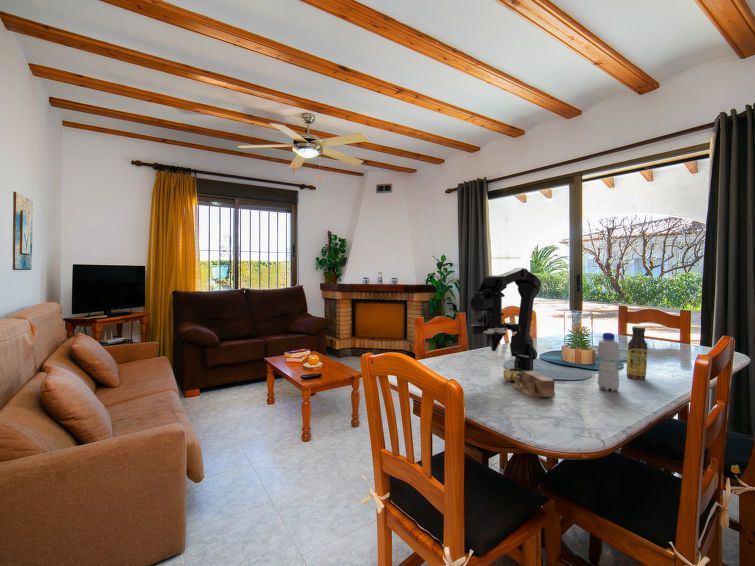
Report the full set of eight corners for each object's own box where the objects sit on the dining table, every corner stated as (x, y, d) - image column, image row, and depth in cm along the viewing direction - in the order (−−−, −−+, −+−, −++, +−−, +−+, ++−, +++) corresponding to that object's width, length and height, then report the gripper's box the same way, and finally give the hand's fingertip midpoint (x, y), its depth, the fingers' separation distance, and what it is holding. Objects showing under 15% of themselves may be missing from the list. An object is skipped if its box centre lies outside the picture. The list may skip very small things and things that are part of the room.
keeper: (518, 377, 144) (518, 367, 144) (530, 383, 137) (530, 373, 137) (507, 378, 143) (507, 368, 143) (518, 384, 136) (518, 374, 136)
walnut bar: (554, 395, 120) (554, 380, 120) (543, 396, 119) (543, 381, 119) (532, 384, 132) (532, 370, 132) (522, 385, 131) (522, 371, 131)
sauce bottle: (628, 379, 140) (629, 327, 139) (624, 375, 146) (625, 325, 145) (649, 381, 138) (650, 328, 137) (644, 376, 143) (645, 326, 143)
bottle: (595, 389, 129) (595, 333, 128) (599, 385, 134) (600, 330, 133) (617, 393, 124) (618, 335, 124) (621, 389, 129) (622, 332, 128)
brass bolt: (517, 378, 143) (517, 366, 142) (524, 382, 138) (524, 369, 138) (503, 379, 141) (503, 367, 141) (509, 383, 137) (509, 371, 137)
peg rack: (513, 386, 133) (513, 375, 133) (533, 385, 135) (533, 373, 134) (533, 397, 121) (533, 385, 121) (554, 396, 123) (555, 383, 123)
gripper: (505, 306, 147) (505, 345, 147) (461, 308, 143) (461, 347, 144) (521, 309, 136) (520, 351, 136) (473, 311, 132) (474, 354, 133)
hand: (493, 350), depth 138 cm, fingers closed
